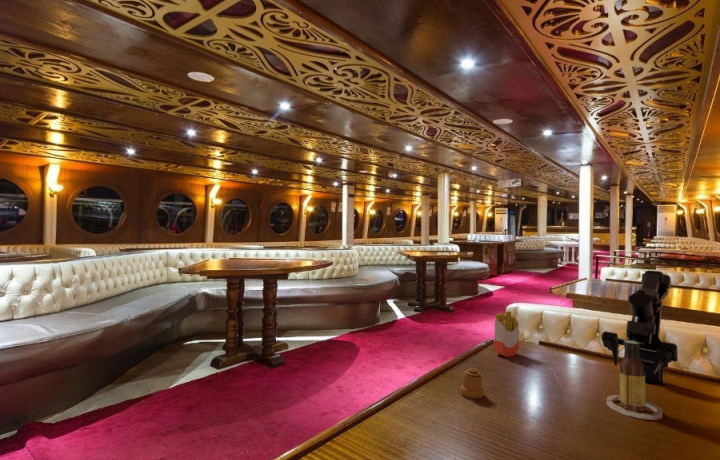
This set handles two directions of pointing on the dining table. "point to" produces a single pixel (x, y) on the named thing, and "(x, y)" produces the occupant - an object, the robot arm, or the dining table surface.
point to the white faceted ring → (631, 413)
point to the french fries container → (506, 334)
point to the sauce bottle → (632, 378)
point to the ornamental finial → (472, 384)
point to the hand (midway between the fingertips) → (633, 369)
